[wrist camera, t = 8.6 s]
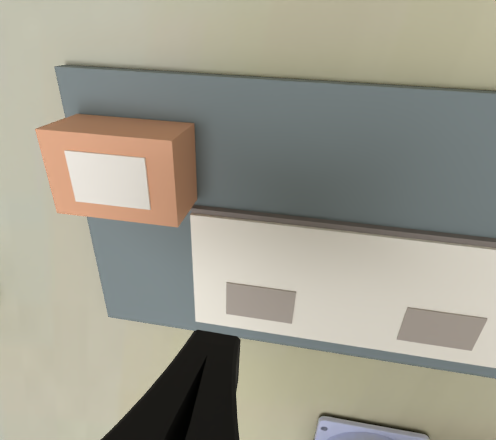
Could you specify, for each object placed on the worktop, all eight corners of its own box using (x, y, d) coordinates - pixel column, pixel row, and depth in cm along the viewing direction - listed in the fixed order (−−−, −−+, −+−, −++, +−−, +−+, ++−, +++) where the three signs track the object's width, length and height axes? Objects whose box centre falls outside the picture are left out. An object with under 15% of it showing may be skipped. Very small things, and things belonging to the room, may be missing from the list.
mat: (525, 372, 21) (532, 384, 21) (114, 308, 25) (108, 316, 24) (698, 103, 14) (719, 107, 13) (65, 64, 17) (54, 66, 16)
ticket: (496, 360, 20) (502, 370, 20) (198, 314, 23) (195, 322, 22) (561, 245, 16) (571, 254, 16) (193, 204, 19) (189, 210, 18)
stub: (197, 199, 18) (177, 228, 16) (91, 188, 19) (55, 213, 17) (194, 123, 16) (170, 141, 14) (77, 113, 17) (33, 129, 15)
